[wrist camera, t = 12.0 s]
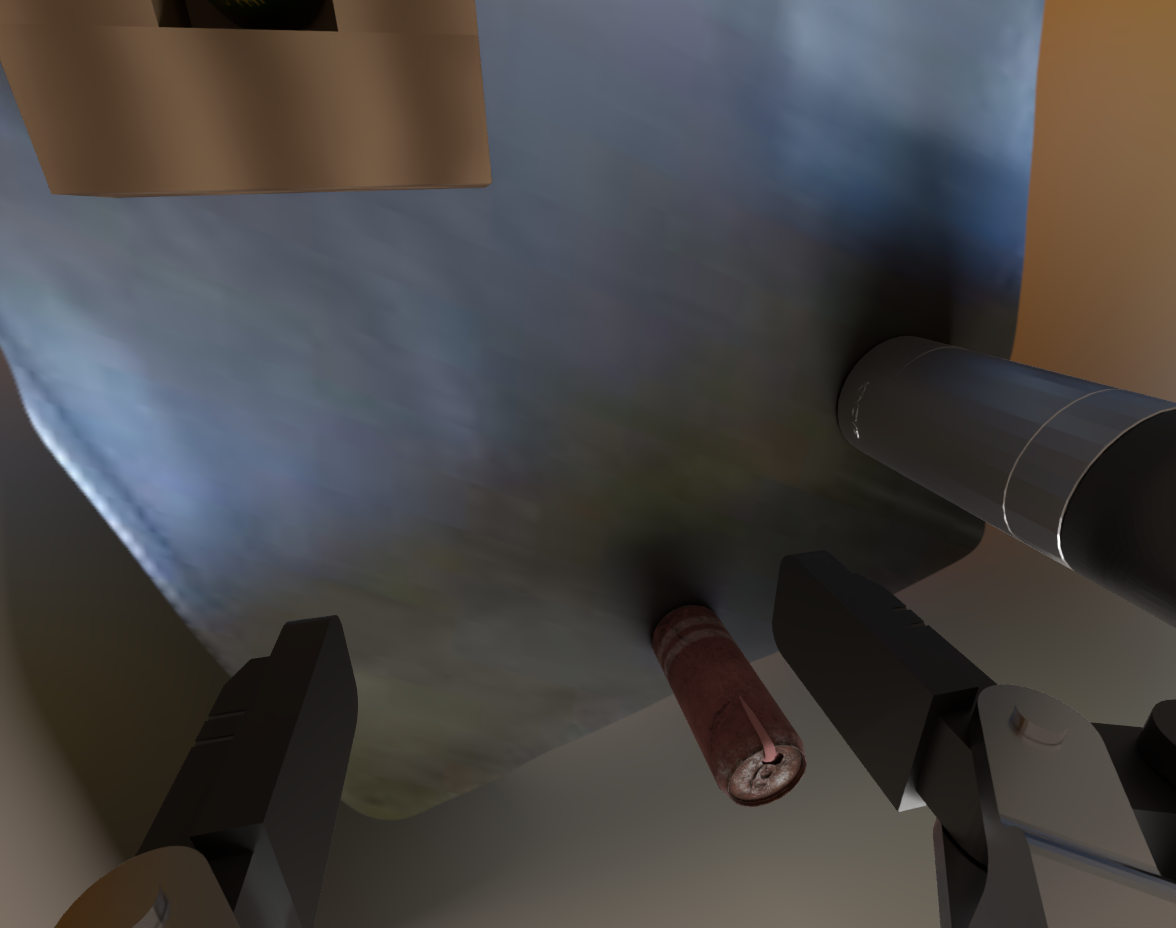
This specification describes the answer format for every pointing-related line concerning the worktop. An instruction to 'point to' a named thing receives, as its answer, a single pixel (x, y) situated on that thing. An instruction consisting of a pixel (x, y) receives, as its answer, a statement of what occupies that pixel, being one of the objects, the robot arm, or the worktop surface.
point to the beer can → (268, 13)
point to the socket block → (248, 97)
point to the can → (728, 708)
